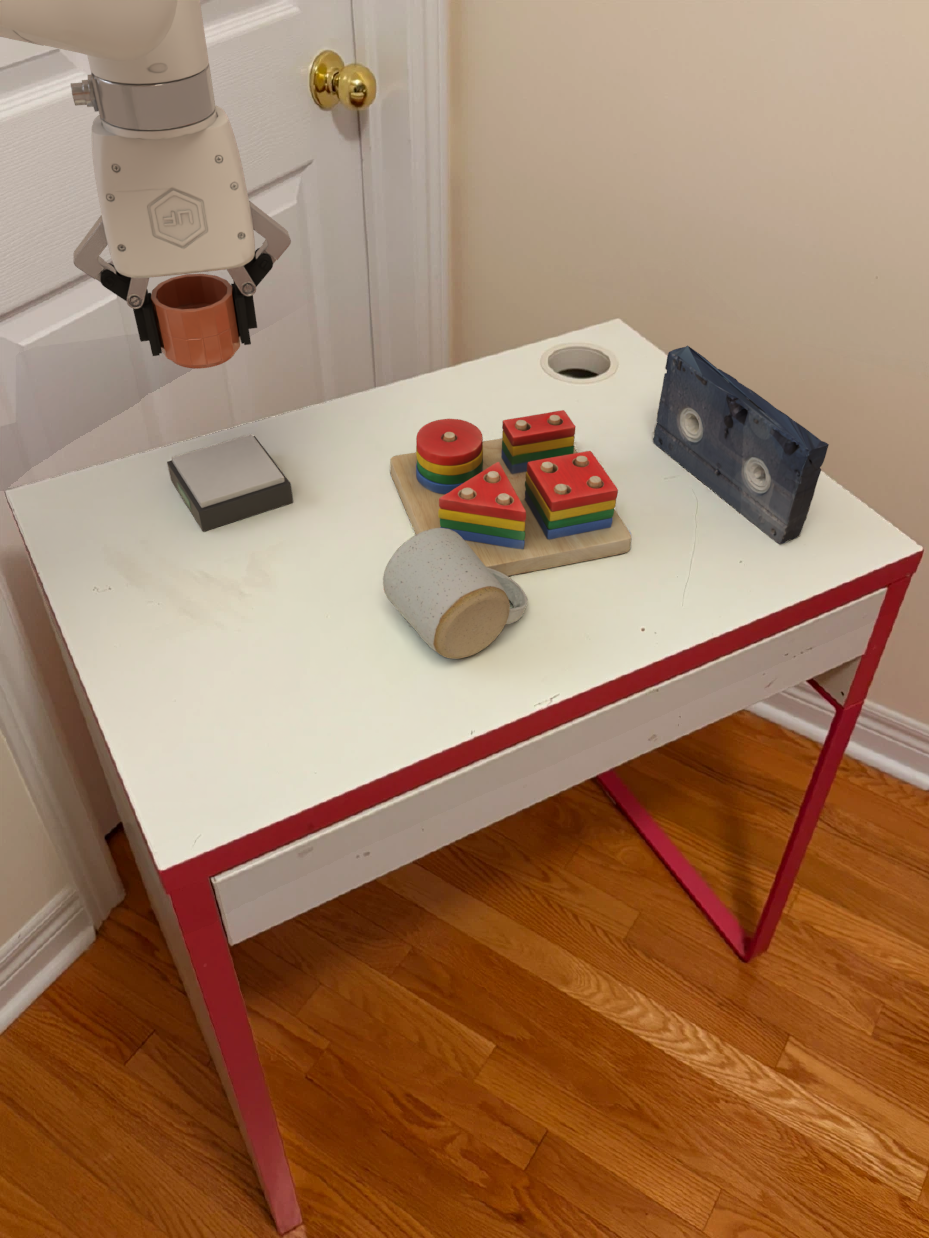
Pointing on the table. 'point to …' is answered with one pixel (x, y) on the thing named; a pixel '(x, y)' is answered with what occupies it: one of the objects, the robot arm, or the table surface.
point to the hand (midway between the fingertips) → (200, 339)
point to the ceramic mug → (450, 593)
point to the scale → (229, 481)
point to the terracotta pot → (196, 320)
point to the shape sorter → (512, 493)
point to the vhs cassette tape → (738, 444)
